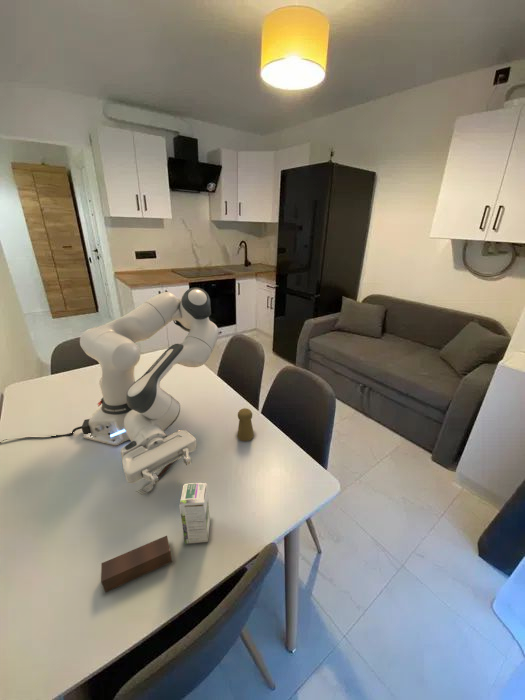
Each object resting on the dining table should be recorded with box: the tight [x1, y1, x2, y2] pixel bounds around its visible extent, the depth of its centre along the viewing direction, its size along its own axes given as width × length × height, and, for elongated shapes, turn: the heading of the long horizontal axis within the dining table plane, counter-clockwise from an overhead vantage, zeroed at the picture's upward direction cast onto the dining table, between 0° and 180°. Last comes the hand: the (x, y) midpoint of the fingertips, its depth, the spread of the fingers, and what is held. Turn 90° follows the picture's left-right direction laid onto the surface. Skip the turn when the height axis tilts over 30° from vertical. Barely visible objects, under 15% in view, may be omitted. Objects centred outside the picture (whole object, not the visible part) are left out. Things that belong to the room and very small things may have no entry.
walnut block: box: [100, 535, 173, 593], centre depth 66 cm, size 14×4×4 cm, turn 116°
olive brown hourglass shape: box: [237, 407, 255, 442], centre depth 104 cm, size 6×6×11 cm
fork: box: [135, 461, 175, 495], centre depth 89 cm, size 3×16×2 cm, turn 156°
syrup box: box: [178, 482, 211, 545], centre depth 71 cm, size 6×6×14 cm
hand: (173, 471), depth 77 cm, fingers open, 8 cm apart
